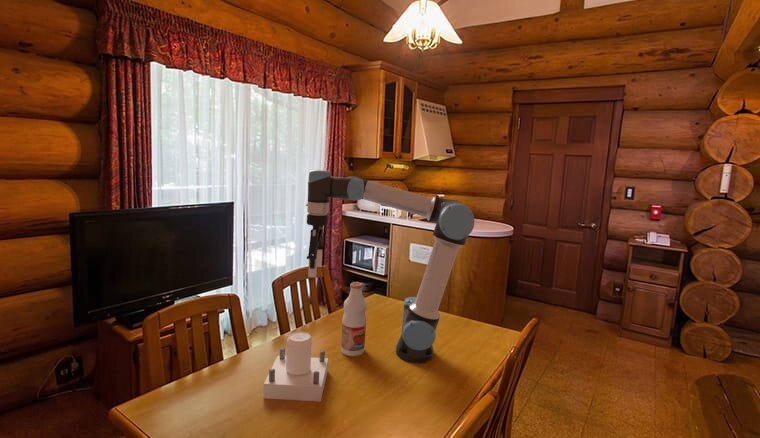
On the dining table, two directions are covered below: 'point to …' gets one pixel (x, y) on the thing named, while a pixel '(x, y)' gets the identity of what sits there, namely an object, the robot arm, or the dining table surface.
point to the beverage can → (298, 353)
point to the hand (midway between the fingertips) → (315, 271)
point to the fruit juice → (354, 322)
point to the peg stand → (296, 380)
